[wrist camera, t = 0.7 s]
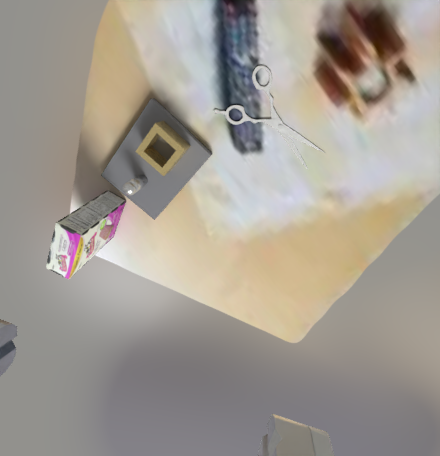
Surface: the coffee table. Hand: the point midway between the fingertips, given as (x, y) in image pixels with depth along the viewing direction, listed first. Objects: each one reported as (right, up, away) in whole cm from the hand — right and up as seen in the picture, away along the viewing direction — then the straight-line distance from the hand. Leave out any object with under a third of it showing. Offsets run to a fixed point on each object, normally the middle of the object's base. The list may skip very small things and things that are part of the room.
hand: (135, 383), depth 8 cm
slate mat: (-10, +17, +45) cm, 49 cm away
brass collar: (-7, +20, +41) cm, 46 cm away
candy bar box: (-22, +8, +53) cm, 58 cm away
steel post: (-13, +14, +45) cm, 49 cm away
